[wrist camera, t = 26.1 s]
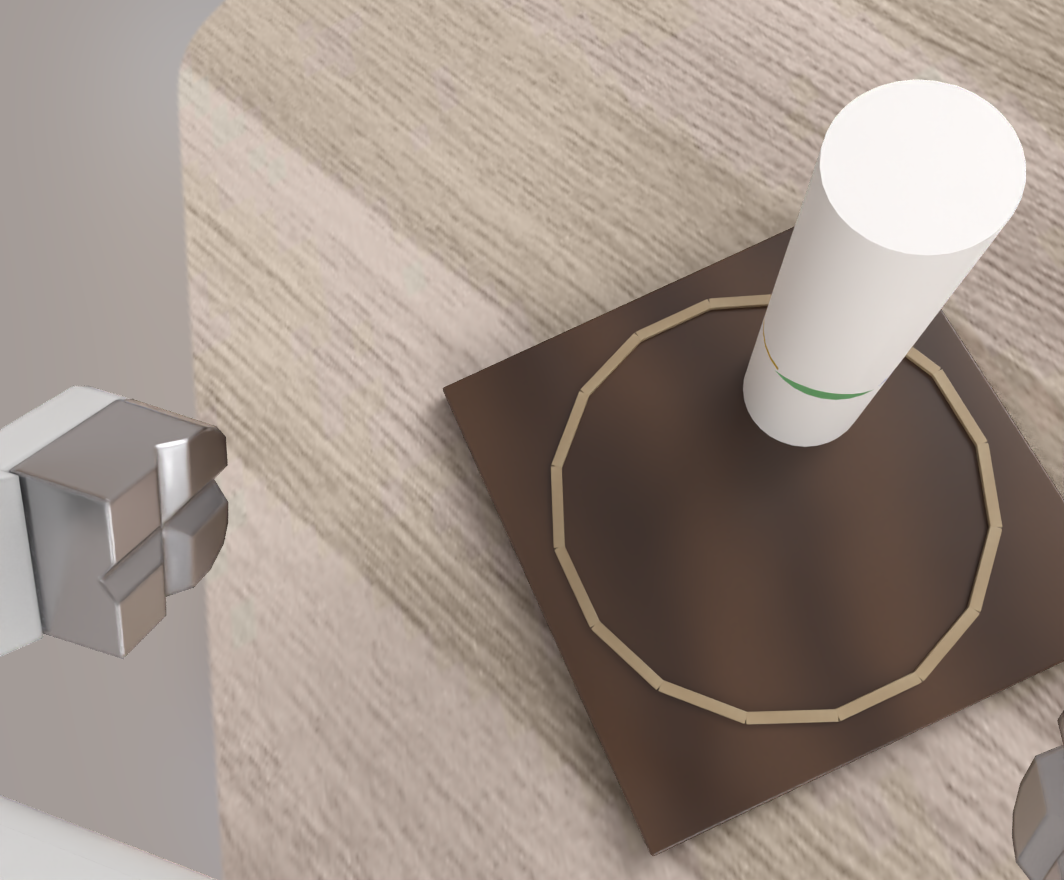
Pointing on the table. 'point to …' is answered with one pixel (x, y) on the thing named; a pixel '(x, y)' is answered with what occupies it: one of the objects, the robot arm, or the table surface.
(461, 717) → the table surface
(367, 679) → the table surface
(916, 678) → the board
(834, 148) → the tube
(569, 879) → the table surface
